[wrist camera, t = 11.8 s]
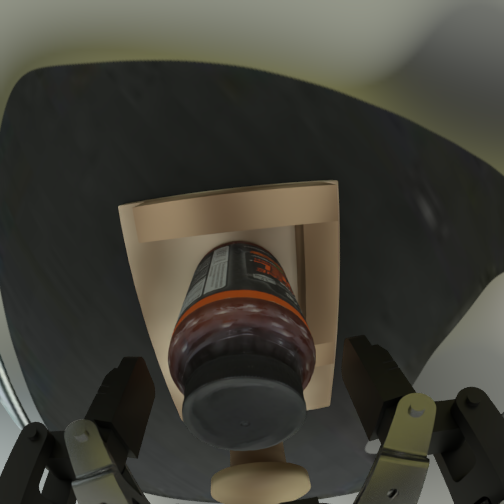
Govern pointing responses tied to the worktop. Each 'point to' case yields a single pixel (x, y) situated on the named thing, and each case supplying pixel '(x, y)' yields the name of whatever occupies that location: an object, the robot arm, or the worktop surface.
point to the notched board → (248, 230)
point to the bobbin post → (260, 478)
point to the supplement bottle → (241, 351)
